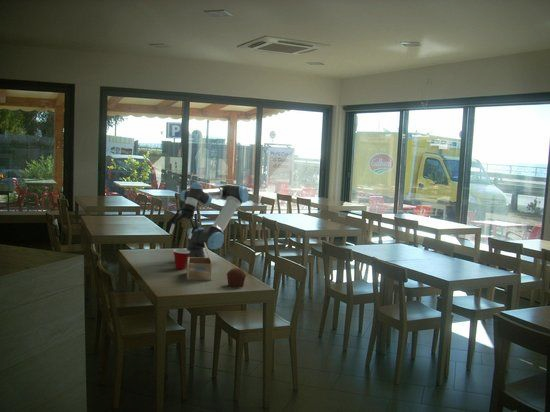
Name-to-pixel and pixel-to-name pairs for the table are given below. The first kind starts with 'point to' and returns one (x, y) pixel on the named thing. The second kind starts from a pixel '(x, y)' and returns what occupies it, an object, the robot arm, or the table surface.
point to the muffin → (236, 277)
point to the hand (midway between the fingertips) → (179, 236)
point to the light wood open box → (199, 268)
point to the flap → (208, 252)
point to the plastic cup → (180, 258)
